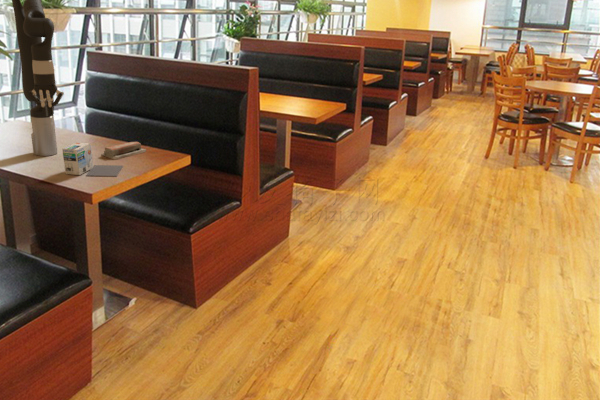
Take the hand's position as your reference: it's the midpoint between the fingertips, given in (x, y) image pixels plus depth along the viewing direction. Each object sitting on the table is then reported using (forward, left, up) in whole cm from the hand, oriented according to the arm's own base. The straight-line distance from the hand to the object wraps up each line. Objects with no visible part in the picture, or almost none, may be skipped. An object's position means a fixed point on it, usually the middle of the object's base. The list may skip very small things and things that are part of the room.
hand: (48, 115), depth 223 cm
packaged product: (+23, +27, -24) cm, 43 cm away
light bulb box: (+10, 0, -23) cm, 25 cm away
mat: (+20, +1, -23) cm, 31 cm away
